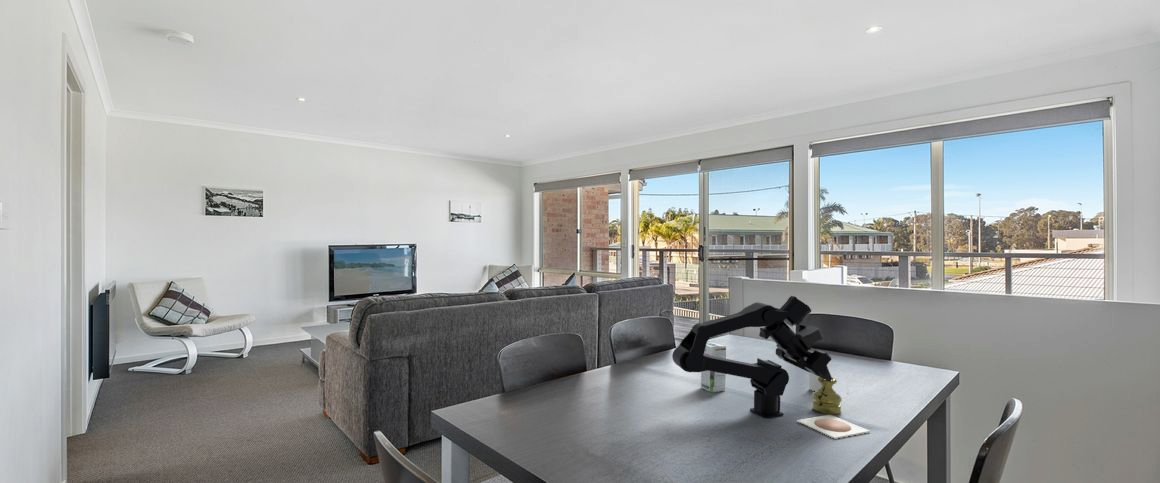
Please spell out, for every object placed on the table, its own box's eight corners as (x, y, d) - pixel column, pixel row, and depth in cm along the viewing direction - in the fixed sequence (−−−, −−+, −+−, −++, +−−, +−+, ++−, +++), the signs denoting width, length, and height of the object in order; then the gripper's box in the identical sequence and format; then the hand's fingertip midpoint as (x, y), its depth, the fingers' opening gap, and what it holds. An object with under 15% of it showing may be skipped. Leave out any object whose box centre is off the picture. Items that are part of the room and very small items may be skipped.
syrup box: (700, 387, 161) (700, 343, 161) (714, 385, 164) (715, 342, 163) (711, 393, 156) (712, 347, 156) (726, 390, 158) (726, 345, 158)
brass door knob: (815, 404, 147) (816, 370, 147) (843, 409, 142) (844, 375, 142) (809, 410, 141) (809, 375, 141) (837, 417, 136) (838, 381, 136)
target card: (834, 439, 121) (834, 437, 121) (796, 422, 132) (796, 419, 132) (869, 432, 126) (869, 430, 126) (830, 416, 137) (830, 414, 137)
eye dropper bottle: (819, 388, 162) (819, 351, 162) (830, 393, 157) (830, 355, 156) (806, 388, 161) (807, 352, 161) (817, 394, 156) (818, 356, 156)
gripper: (825, 323, 131) (862, 363, 133) (785, 312, 149) (818, 347, 151) (797, 353, 130) (834, 394, 132) (760, 338, 148) (794, 374, 150)
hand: (820, 375), depth 141 cm, fingers open, 9 cm apart
